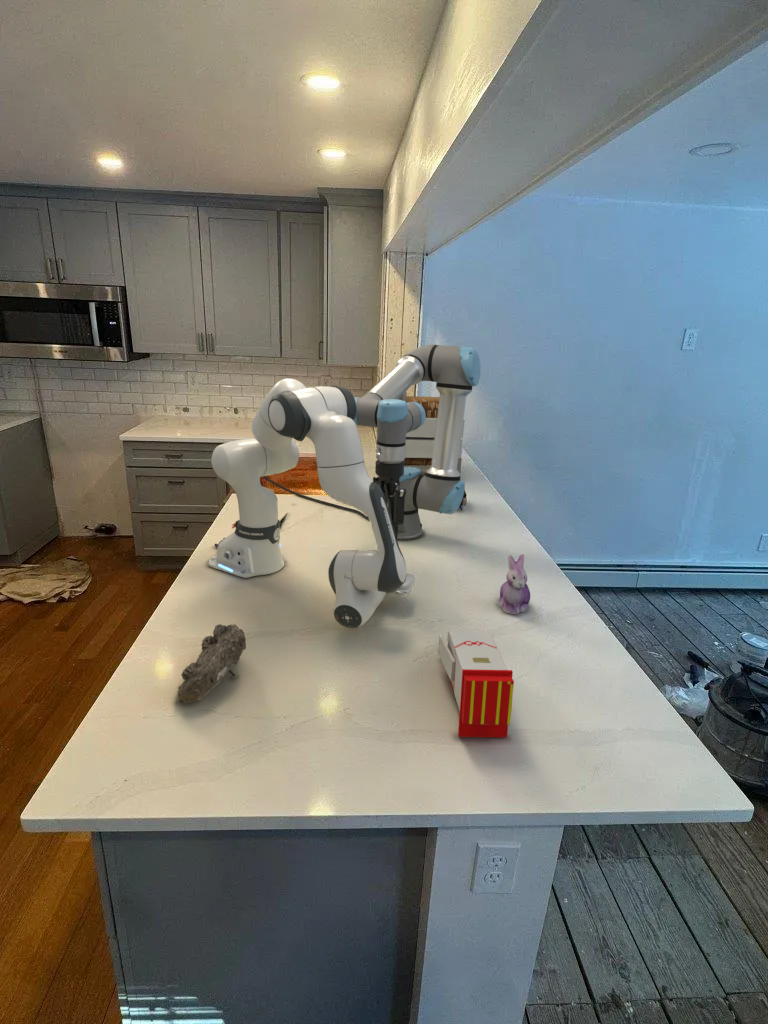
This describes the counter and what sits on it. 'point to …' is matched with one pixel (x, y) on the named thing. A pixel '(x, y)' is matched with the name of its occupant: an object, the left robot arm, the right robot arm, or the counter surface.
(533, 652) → the counter surface
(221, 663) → the fossil
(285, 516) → the feather
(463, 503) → the figurine character
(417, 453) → the grey boxy container
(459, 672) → the toy
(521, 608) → the figurine
